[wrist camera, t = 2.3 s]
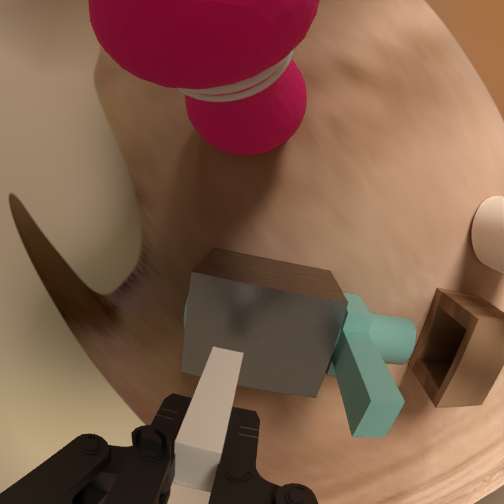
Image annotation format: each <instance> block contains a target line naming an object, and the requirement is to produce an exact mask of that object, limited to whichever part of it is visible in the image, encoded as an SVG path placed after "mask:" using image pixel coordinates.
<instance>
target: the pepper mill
mask: <svg viewBox="0 0 504 504" xmlns="http://www.w3.org/2000/svg"><path fill="white" fill-rule="evenodd" d="M318 4H319V0H89V12H90V22H91V25H92V27H93V30H94V32H95V35H96V37H97V40H98V41H99V43H100V44H101V45H102V47H103V48H104V50H105V51H106V52H107V53H108V54H109V55H110V56H111V57H112V58H113V59H114V60H115V61H116V62H117V63H118V64H119V65H120V66H121V67H122V68H123V69H125V70H127V71H128V72H130V73H131V74H133V75H135V76H137V77H139V78H141V79H143V80H146V81H149V82H152V83H155V84H158V85H161V86H164V87H171V88H176V89H177V90H179V91H180V92H182V93H184V94H185V95H186V96H185V99H186V108H187V113H188V116H189V119H190V121H191V123H192V124H193V126H194V128H195V129H196V131H197V132H198V133H199V134H200V135H201V136H202V137H203V138H204V139H205V140H206V141H207V142H208V143H209V144H211V145H212V146H214V147H215V148H217V149H219V150H221V151H224V152H227V153H230V154H235V155H257V154H262V153H265V152H268V151H270V150H273V149H275V148H277V147H279V146H280V145H282V144H283V143H285V142H286V141H287V140H288V139H289V138H290V137H291V136H292V135H293V134H294V133H295V132H296V130H297V129H298V128H299V126H300V124H301V122H302V120H303V117H304V114H305V110H306V87H305V82H304V79H303V77H302V75H301V72H300V71H299V69H298V67H297V66H296V64H295V63H294V62H293V60H292V59H291V58H292V56H293V52H294V48H295V47H296V46H297V45H298V44H299V43H300V42H301V41H302V40H303V39H304V38H305V35H306V33H307V31H308V29H309V27H310V25H311V23H312V21H313V19H314V18H315V16H316V13H317V8H318Z"/></svg>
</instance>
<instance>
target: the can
mask: <svg viewBox="0 0 504 504" xmlns="http://www.w3.org/2000/svg"><path fill="white" fill-rule="evenodd" d="M471 236H472V245H473V249H474V252H475V254H476V256H477V258H478V259H479V261H480V262H481V263H483V264H484V265H486V266H488V267H490V268H492V269H494V270H496V271H498V272H500V273H502V274H504V197H501V196H493V197H490V198H488V199H486V200H485V201H484V202H483V203H482V204H481V205H480V207H479V208H478V210H477V212H476V214H475V217H474V220H473V224H472V232H471Z"/></svg>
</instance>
